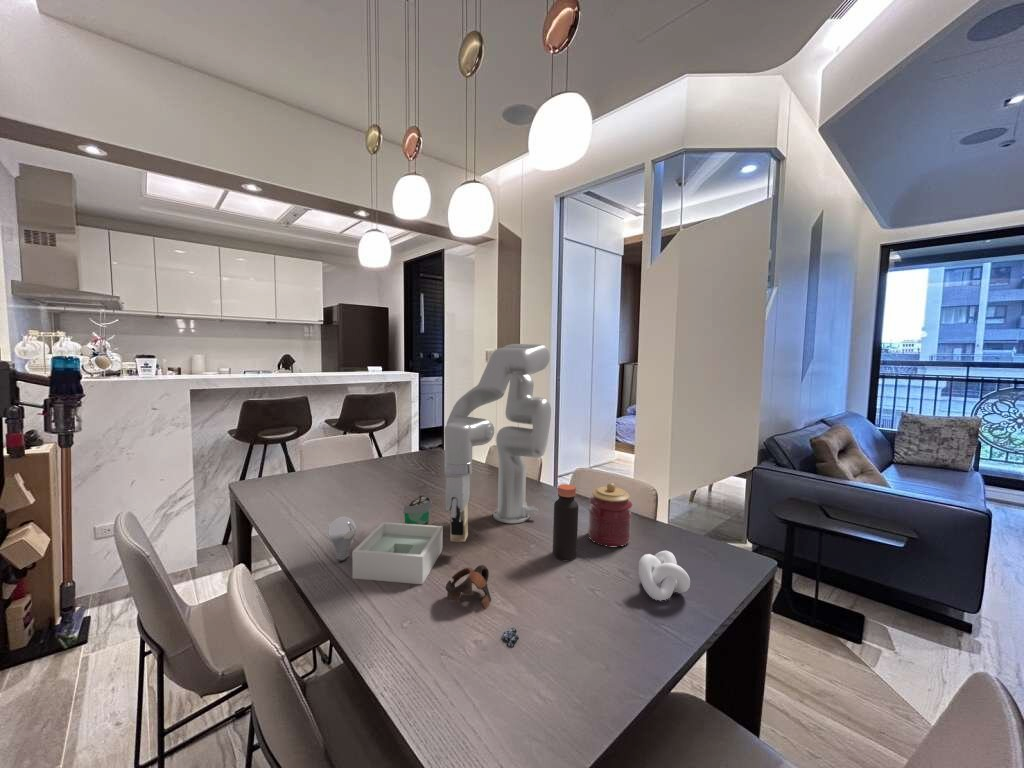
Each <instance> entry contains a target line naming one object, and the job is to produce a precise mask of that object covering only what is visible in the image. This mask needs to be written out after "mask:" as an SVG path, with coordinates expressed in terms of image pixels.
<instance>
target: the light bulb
mask: <svg viewBox="0 0 1024 768" xmlns="http://www.w3.org/2000/svg"><path fill="white" fill-rule="evenodd" d="M356 529H357V526H356V523H355V521H354V520H353V519H352V518H350V517H348V516H339V517H336V518H335V519H334V520H332V522H331V523H329V526H328V530H327V535H328V538H329V540H330V541H331V543H332V545H333V546H334V550H335V558H336V559H337V560H338V561H339V562H345V561H346V559H348V557H349V555H350V551H349V550H350V546H351V542H352V540H353V539H354V537H355V534H356V532H357V531H356Z"/></svg>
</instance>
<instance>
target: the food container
mask: <svg viewBox="0 0 1024 768" xmlns="http://www.w3.org/2000/svg"><path fill="white" fill-rule="evenodd" d="M432 503H433V502H432V499H431V496H429V495H427V494H424V493H419V496H418V497H417V498H416V499H414V500H412V501H411V503H410V504H409V505H403V514H404V524H418V525H429V521H430V519H429V518H430V509H431V508H432V505H433V504H432Z"/></svg>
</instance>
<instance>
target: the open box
mask: <svg viewBox="0 0 1024 768" xmlns="http://www.w3.org/2000/svg"><path fill="white" fill-rule="evenodd" d="M443 529H444V528H443V525H431V524H428V525H418V524H405V522H404V523H402V522H386V521H385V522H384V521H382V522H381V523H380V524H379V525H378V526H377V527H375V529H374V530H373V531H372V532H371V533H369V535H367V537H365V539H363V540H362V541H361V542H360V543H359V544H358V545H357V546H356V547H355V548H354V549H353V550H352V558H351V559H352V579H353V580H355V579H356V580H367V581H378V582H379V581H381V582H391V583H400V584H401V583H403V584H412V585H413V584H415V585H423V584H424V582H425V581H426V579H427V577H428V576H429V574H430V573H431V570H432V569H433V567H434V565H435V563H436V561H437V560H438V558H439V556H440V554H441V553H442V551H443V544H444V543H443V537H444V535H443V533H444V532H443ZM384 534H394V535H407V536H421V537H432V538H431V539H430V541H429V542H428V543H427V545H426V546H425V548H424V549H423V551H422V552H421V554H420V555H418V554H405V553H392V552H379V551H369V549H370V548H371V547H372V546H373V545H374V544H375V543H376V542H377V541H378V540H379V539H380V538H381V537H382V536H383V535H384Z"/></svg>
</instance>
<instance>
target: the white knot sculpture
mask: <svg viewBox="0 0 1024 768" xmlns="http://www.w3.org/2000/svg"><path fill="white" fill-rule="evenodd" d="M638 575H639V579H640V583H641V584H642V588H643V589H644V591H645V592H646V593H647V596H648V595H649V597H650V598H651V599H652V600H654V599H655V600H654V601H657V600H660V601H659V602H662V601H661V600H665V601H667V600H669V599H670V598H671V597H672V595H673V594H674V593H675V592H678V593H677V594H682V593H686V592H687V591H688V590H689V588H690V586H691V579H690V576H689V574H688V573H687V571H686V570H685V569H684V568H682V566H680V565H679V564H678V563H677V559H676V557H675V555H674V554H673V552H671V551H668V550H662V551H659V552H657V553H656V554H654V555H653V554H651V553H645V554H643V555H642V556H641V557H640V559H639V561H638ZM659 584H660V585H659ZM673 591H675V592H673ZM668 598H669V599H668ZM666 599H667V600H666Z"/></svg>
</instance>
